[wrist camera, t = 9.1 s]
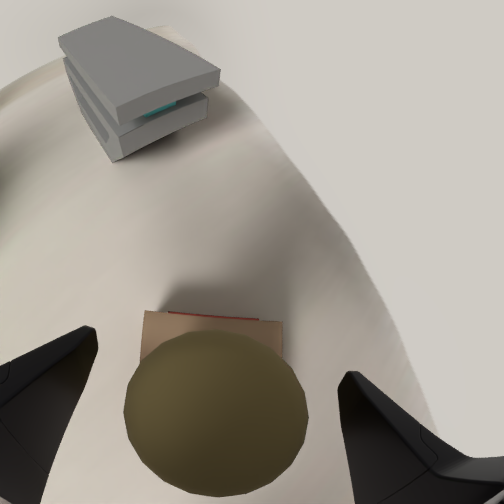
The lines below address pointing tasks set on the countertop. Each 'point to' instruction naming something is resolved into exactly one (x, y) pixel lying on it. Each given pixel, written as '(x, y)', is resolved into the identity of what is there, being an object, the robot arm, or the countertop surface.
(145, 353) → the tan flat block
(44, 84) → the countertop surface
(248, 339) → the olive tall rounded piece
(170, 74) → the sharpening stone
